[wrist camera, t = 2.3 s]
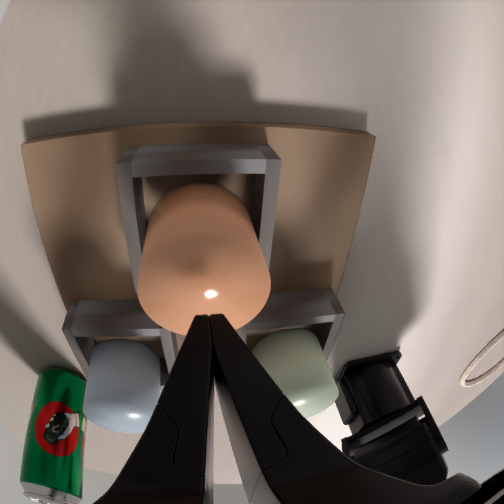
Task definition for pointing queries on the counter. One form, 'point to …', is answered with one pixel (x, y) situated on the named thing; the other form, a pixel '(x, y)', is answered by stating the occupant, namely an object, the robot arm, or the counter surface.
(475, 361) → the hand towel holder
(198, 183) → the terracotta button
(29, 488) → the soda can
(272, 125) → the walnut button board
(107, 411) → the slate-blue button
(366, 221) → the counter surface
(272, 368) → the sage button
